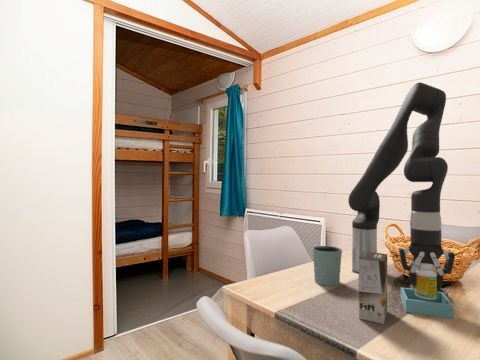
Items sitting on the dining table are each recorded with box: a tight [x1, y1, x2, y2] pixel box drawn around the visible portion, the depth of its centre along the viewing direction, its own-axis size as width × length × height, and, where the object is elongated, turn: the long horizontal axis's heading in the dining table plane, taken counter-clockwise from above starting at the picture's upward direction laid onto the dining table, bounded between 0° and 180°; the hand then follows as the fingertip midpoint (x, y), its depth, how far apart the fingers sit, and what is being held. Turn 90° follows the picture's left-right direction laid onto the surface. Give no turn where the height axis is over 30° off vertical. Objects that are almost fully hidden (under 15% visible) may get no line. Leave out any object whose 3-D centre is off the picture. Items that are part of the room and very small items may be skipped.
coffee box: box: [358, 252, 388, 325], centre depth 81 cm, size 9×6×16 cm
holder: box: [408, 284, 449, 299], centre depth 94 cm, size 10×10×2 cm
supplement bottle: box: [415, 263, 437, 300], centre depth 85 cm, size 5×5×10 cm
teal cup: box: [312, 245, 343, 287], centre depth 107 cm, size 10×10×12 cm
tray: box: [400, 287, 454, 319], centre depth 85 cm, size 11×10×4 cm
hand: (425, 286), depth 85 cm, fingers closed on supplement bottle, 5 cm apart
